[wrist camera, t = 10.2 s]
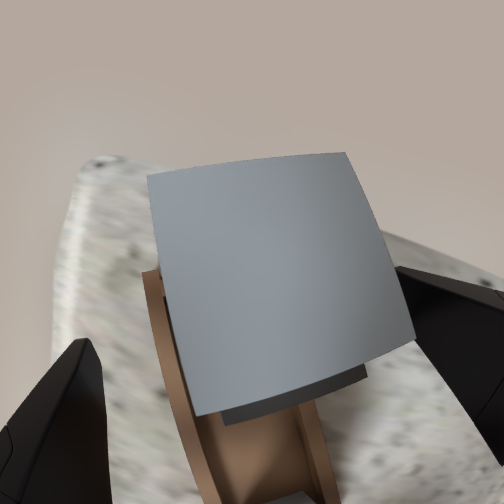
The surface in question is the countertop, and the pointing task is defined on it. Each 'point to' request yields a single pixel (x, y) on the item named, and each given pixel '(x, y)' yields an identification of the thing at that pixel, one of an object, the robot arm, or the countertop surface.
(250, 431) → the walnut rail
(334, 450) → the countertop surface
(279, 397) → the slate finger
